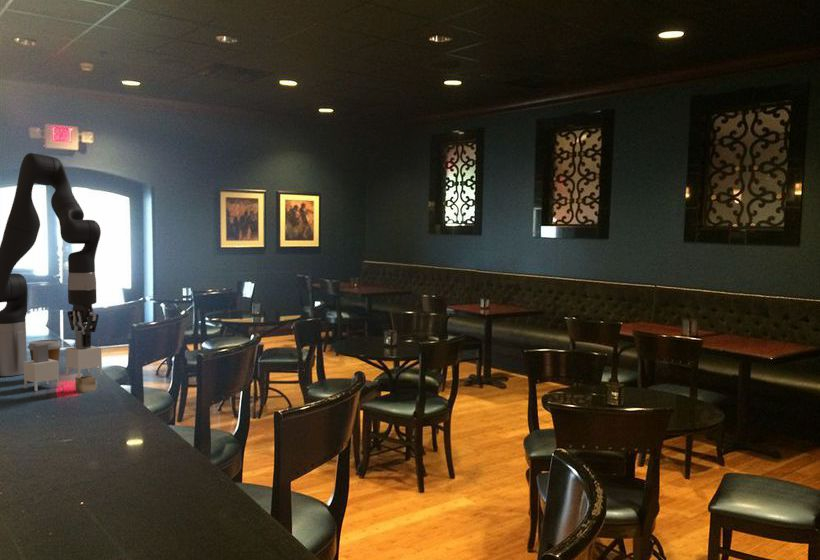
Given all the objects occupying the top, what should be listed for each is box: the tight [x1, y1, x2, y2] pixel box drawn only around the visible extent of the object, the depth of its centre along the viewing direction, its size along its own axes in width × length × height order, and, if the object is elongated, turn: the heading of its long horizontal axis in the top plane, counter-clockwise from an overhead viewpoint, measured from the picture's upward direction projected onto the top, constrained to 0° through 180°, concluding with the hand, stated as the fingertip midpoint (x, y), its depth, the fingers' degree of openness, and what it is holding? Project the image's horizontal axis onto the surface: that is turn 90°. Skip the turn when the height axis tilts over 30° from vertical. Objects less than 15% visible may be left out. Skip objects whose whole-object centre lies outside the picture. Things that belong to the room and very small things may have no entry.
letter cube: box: [74, 374, 97, 393], centre depth 204 cm, size 4×4×4 cm
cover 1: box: [23, 344, 60, 392], centre depth 207 cm, size 7×7×13 cm
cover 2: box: [65, 331, 103, 378], centre depth 203 cm, size 7×7×13 cm
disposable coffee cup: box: [27, 339, 62, 361], centre depth 220 cm, size 10×10×12 cm
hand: (83, 345), depth 203 cm, fingers closed on cover 2, 3 cm apart
